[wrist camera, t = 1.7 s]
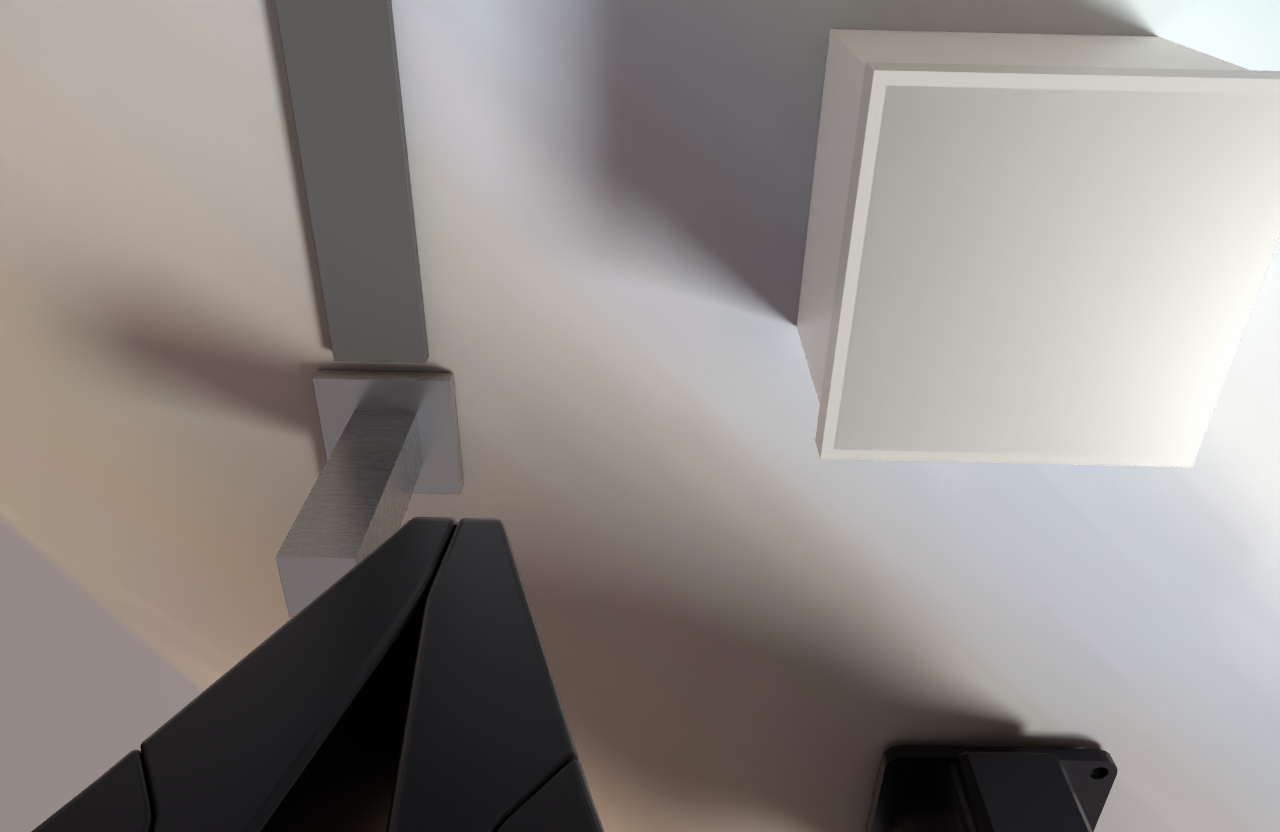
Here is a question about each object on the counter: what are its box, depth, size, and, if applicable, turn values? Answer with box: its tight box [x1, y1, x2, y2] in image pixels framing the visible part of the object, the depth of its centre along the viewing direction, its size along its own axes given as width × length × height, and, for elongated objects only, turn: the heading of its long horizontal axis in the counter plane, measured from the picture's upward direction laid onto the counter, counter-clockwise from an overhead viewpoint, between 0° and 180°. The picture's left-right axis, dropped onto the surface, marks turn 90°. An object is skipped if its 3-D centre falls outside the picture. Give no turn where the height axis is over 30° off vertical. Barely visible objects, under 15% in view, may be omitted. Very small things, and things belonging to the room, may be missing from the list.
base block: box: [797, 29, 1280, 467], centre depth 17 cm, size 6×6×5 cm
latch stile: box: [276, 370, 463, 617], centre depth 20 cm, size 3×3×6 cm
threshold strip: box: [275, 0, 429, 363], centre depth 18 cm, size 12×2×1 cm, turn 179°
